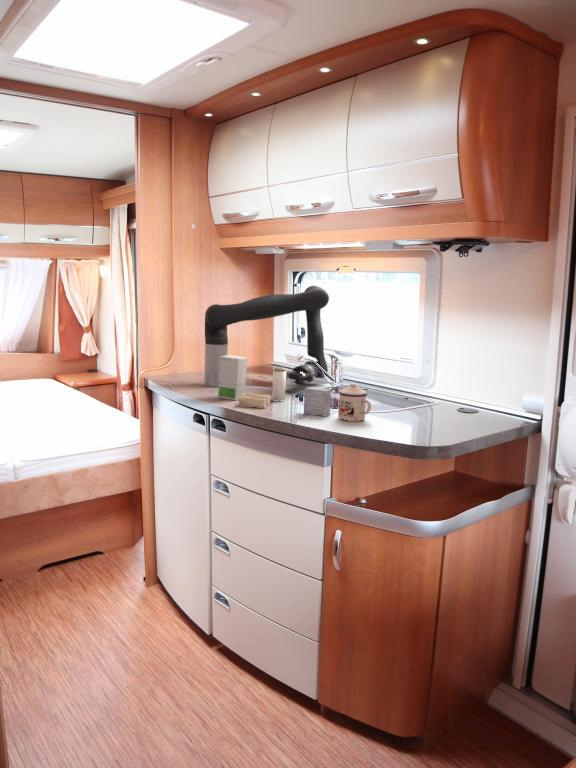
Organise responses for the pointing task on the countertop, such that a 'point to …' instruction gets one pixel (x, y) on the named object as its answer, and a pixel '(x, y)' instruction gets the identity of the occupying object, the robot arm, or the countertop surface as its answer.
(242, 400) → the plinth
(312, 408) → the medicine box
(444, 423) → the countertop surface
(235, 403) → the countertop surface
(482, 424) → the countertop surface
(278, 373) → the spice jar
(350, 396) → the teacup with lid
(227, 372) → the skincare box
